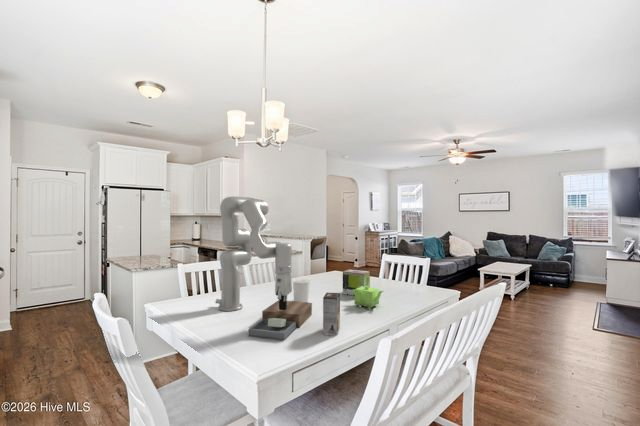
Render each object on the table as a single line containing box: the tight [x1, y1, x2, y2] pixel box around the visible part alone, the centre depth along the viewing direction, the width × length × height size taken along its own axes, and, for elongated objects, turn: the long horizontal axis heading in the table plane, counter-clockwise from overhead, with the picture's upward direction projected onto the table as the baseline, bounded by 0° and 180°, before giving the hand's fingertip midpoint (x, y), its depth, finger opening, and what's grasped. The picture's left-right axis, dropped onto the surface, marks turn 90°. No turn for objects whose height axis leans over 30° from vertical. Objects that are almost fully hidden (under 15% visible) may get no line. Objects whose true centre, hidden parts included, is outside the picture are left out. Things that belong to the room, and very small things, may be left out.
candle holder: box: [292, 278, 311, 303], centre depth 192 cm, size 10×10×12 cm
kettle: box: [351, 286, 385, 309], centre depth 183 cm, size 15×14×11 cm
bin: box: [247, 318, 297, 341], centre depth 142 cm, size 16×14×3 cm
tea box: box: [342, 269, 371, 296], centre depth 210 cm, size 15×10×15 cm, turn 58°
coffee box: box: [322, 292, 341, 336], centre depth 144 cm, size 9×6×16 cm
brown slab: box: [261, 299, 313, 329], centre depth 160 cm, size 18×20×6 cm
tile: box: [268, 318, 286, 327], centre depth 144 cm, size 6×6×3 cm
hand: (282, 309), depth 153 cm, fingers closed
